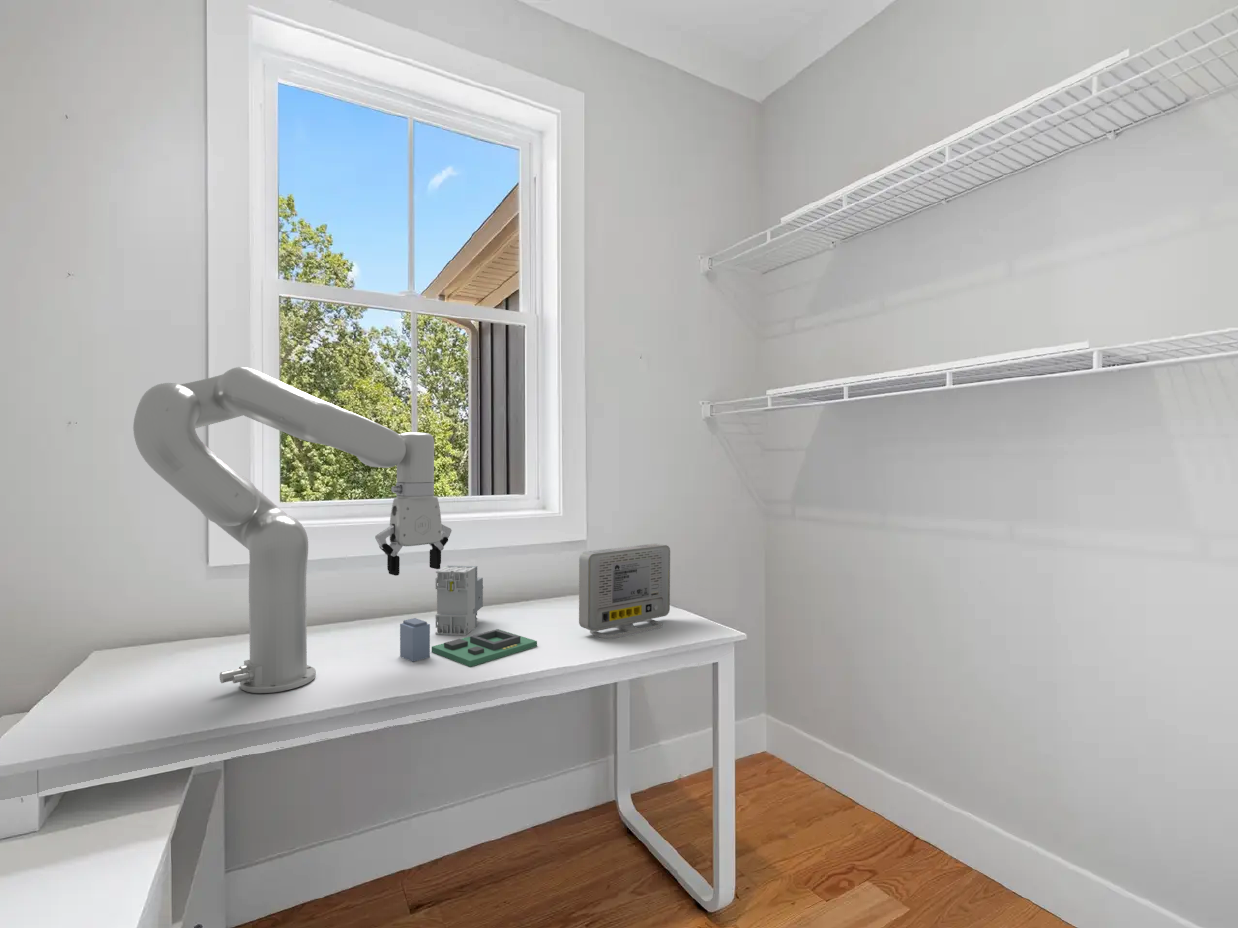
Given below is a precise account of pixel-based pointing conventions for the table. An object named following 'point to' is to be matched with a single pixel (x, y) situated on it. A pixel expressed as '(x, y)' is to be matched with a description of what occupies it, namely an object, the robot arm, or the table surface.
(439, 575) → the circuit breaker
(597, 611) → the network device
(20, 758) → the table surface
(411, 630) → the plug
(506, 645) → the board
